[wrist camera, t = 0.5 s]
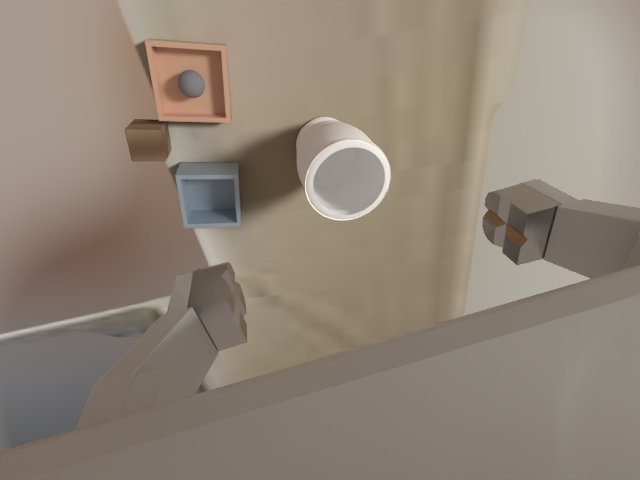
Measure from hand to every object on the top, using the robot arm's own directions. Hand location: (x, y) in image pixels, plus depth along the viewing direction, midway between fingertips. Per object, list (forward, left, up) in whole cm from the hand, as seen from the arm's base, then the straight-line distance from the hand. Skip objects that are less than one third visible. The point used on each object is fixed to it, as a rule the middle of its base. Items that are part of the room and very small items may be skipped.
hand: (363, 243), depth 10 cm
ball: (+2, -9, -42) cm, 43 cm away
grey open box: (+17, -8, -42) cm, 46 cm away
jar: (+10, +9, -42) cm, 44 cm away
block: (+9, -15, -42) cm, 46 cm away
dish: (+2, -9, -42) cm, 43 cm away
